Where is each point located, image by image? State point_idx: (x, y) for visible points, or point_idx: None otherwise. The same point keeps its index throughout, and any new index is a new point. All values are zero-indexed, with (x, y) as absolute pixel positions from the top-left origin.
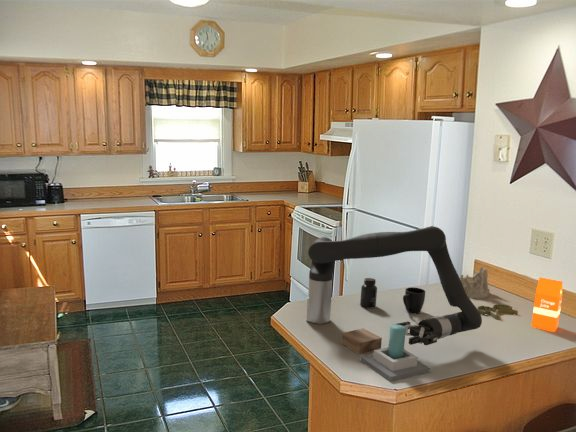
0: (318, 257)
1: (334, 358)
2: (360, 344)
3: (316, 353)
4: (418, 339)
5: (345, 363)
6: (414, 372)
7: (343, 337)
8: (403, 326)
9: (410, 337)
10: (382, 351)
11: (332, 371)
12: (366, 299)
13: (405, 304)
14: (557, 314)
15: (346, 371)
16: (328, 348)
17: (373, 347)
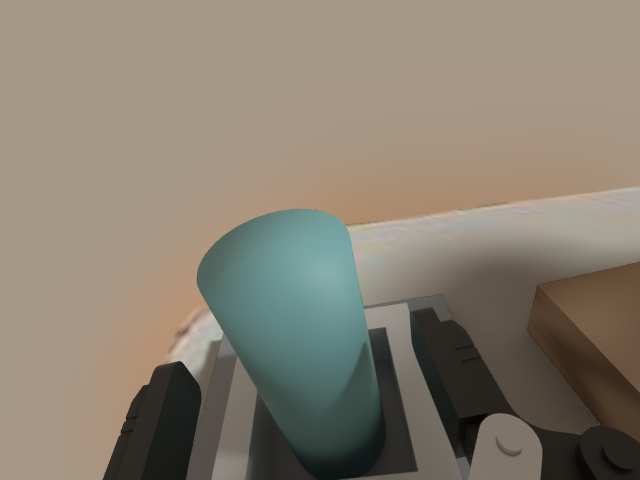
0: None
1: (473, 240)
2: (538, 294)
3: (520, 207)
4: (113, 470)
5: (423, 258)
6: (188, 476)
7: None
8: (263, 302)
9: (172, 373)
10: (388, 342)
11: (373, 221)
12: None
13: None
14: None
15: (361, 247)
16: (584, 241)
17: (612, 419)
